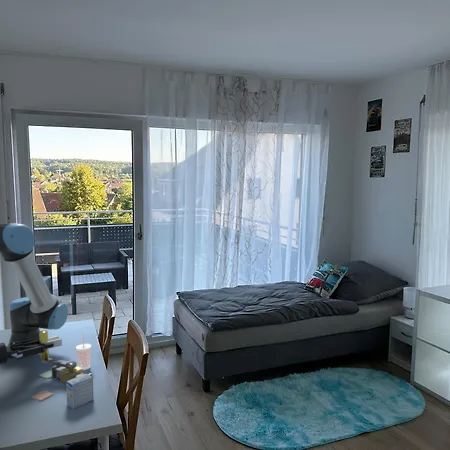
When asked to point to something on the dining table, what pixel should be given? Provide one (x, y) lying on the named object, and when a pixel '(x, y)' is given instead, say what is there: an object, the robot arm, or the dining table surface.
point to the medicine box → (79, 390)
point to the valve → (66, 373)
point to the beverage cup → (84, 355)
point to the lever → (47, 360)
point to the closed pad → (42, 395)
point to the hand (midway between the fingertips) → (60, 340)
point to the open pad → (47, 374)
